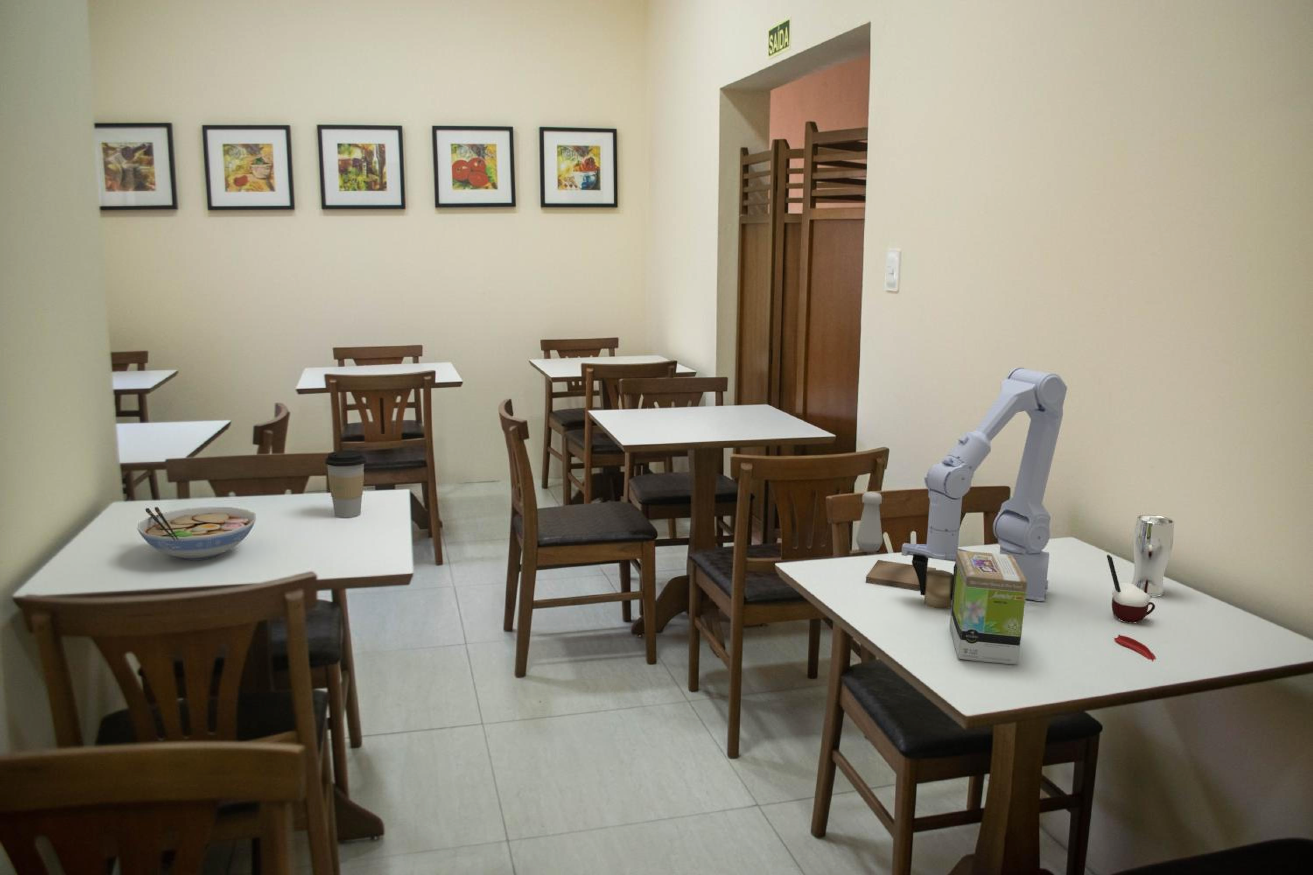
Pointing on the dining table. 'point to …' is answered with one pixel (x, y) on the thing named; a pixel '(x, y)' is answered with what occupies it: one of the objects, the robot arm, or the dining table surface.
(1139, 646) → the cayenne pepper
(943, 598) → the oak cylinder
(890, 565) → the walnut board
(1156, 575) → the beer glass
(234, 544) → the ramen bowl
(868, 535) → the salt shaker
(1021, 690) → the dining table surface
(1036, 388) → the robot arm
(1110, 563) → the cocoa
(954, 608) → the tea box
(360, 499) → the coffee cup
